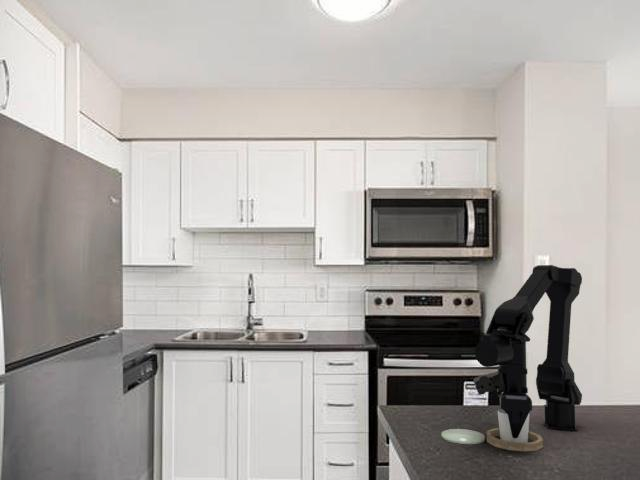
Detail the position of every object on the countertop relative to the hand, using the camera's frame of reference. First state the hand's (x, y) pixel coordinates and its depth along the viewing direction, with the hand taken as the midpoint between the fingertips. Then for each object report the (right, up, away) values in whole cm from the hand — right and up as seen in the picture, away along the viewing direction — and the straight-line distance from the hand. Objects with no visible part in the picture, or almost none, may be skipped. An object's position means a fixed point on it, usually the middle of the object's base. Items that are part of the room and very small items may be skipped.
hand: (513, 433), depth 117 cm
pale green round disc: (-11, -2, +3) cm, 11 cm away
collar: (0, -2, 0) cm, 2 cm away
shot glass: (0, -2, 0) cm, 2 cm away
